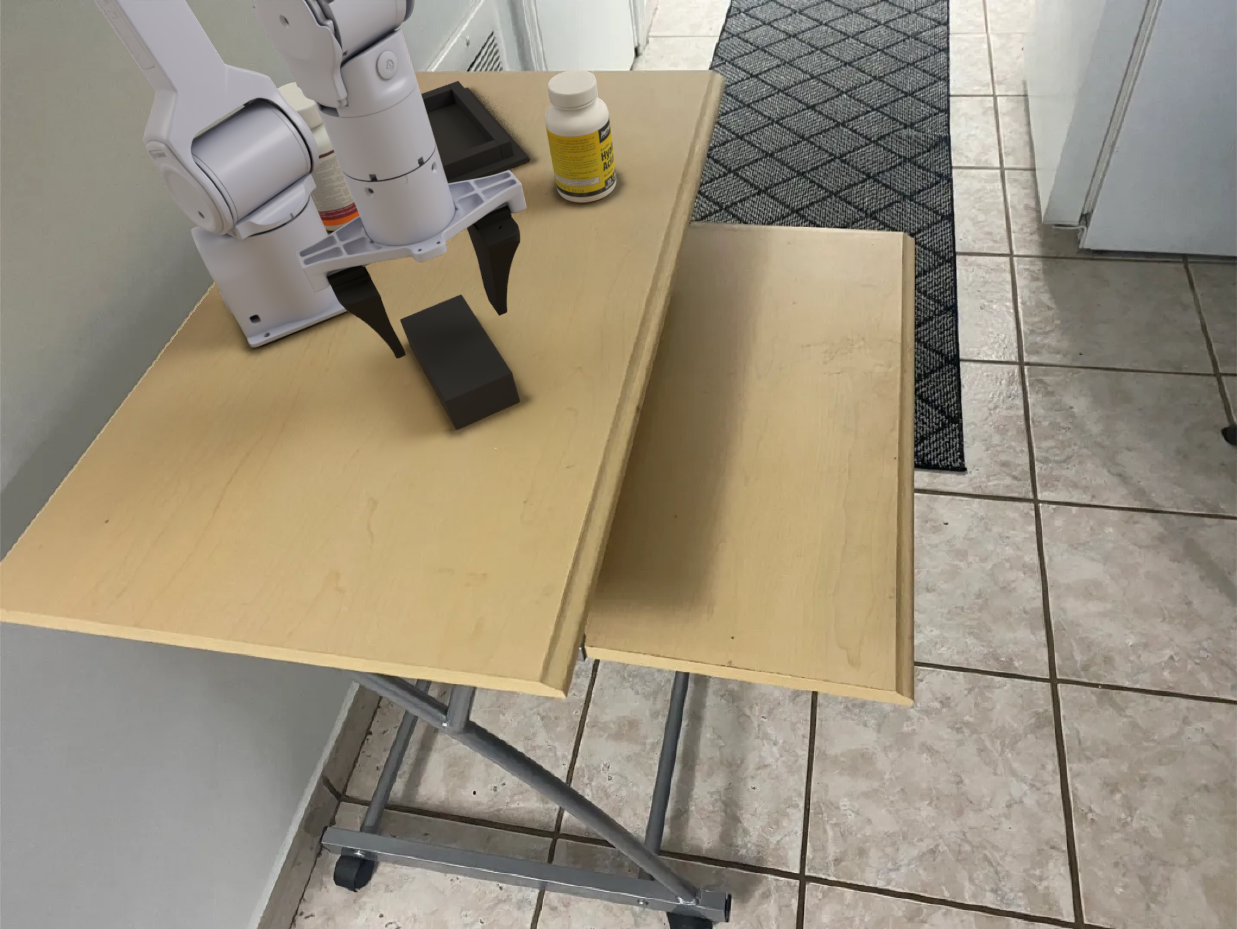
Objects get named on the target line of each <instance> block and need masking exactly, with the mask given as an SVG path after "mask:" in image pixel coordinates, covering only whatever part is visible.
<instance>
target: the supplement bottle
mask: <svg viewBox="0 0 1237 929" xmlns="http://www.w3.org/2000/svg"><path fill="white" fill-rule="evenodd" d="M547 93H548V98H549V102H550V104H549V106H548V107H547V109H546V111H545V114H544V123H545V130H546V136H547V141H548V146H549V152H550V158H551V163H552V170H553V176H554V182H555V186H556V190H557V192H558V194H559V195H560V196H561V197H562V198H563V199H564V200H566V201H569V202H573V203H580V204H581V203H591V202H595V201H598V200H601V199H603V198H605V197H607V196H608V195H609V194H611V193H612V192H613V190H614V189H615V187H616V185H617V170H616V162H615V154H614V146H613V136H612V128H611V127H612V126H611V120H610V112H609V109H608V108H609V107H608V106H607V104H606V103H605V101H603V100H602V98H600V97H599V94H598V93H599V89H598V82H597V77H596V75H594V73H592V72H590V71H588V70H583V69H569V70H566V71H561V72H559V73H557V74H556V75H553V76H552V77H551V78H550V79H549V81H548V82H547Z"/></svg>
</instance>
